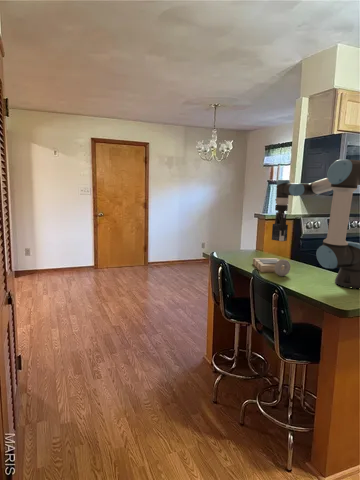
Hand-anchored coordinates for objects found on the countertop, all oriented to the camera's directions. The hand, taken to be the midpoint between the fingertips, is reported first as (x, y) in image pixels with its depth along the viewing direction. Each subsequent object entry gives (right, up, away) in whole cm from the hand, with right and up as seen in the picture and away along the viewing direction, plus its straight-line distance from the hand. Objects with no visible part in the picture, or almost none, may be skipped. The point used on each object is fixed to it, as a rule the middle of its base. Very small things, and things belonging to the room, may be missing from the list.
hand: (279, 239), depth 209 cm
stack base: (-7, -18, -3) cm, 20 cm away
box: (0, -1, 0) cm, 1 cm away
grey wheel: (-5, -21, -21) cm, 30 cm away
